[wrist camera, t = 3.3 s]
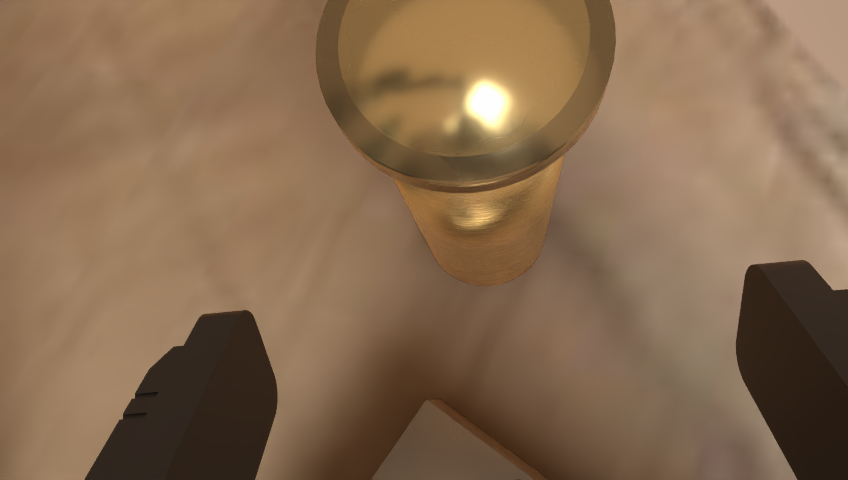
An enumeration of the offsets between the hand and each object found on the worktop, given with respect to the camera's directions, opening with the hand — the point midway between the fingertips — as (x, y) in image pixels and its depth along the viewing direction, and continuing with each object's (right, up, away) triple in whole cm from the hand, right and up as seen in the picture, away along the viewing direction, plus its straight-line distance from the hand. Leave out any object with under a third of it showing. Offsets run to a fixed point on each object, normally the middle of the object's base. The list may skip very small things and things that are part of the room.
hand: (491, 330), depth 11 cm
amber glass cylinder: (+1, +2, +11) cm, 11 cm away
